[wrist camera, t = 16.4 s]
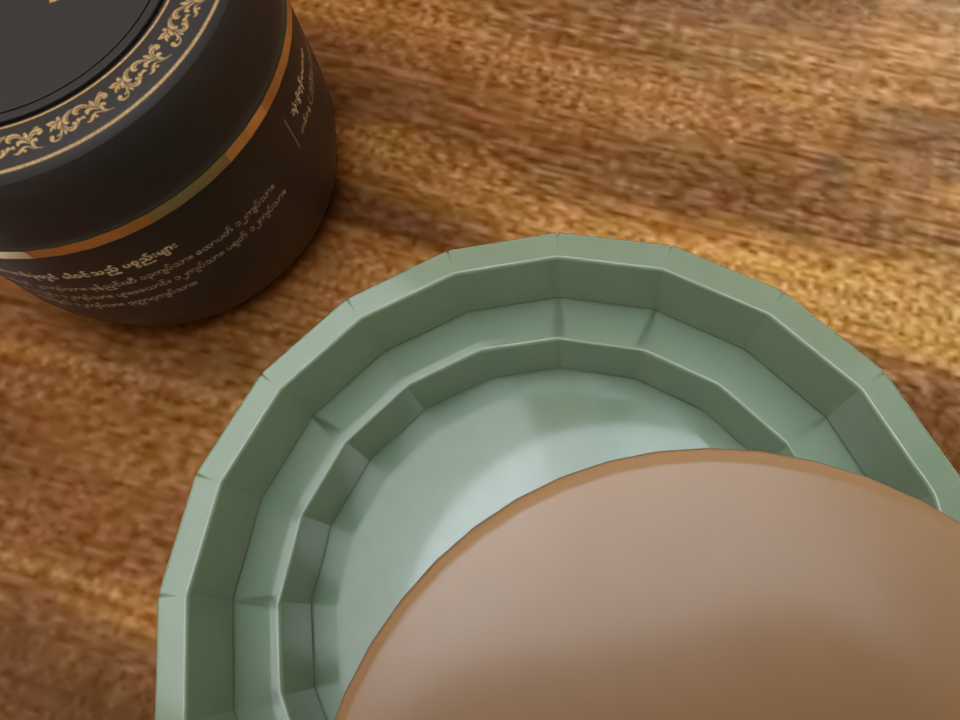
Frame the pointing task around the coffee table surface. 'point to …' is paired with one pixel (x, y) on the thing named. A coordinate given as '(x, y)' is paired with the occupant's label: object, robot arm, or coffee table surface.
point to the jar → (158, 153)
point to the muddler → (682, 601)
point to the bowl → (484, 442)
